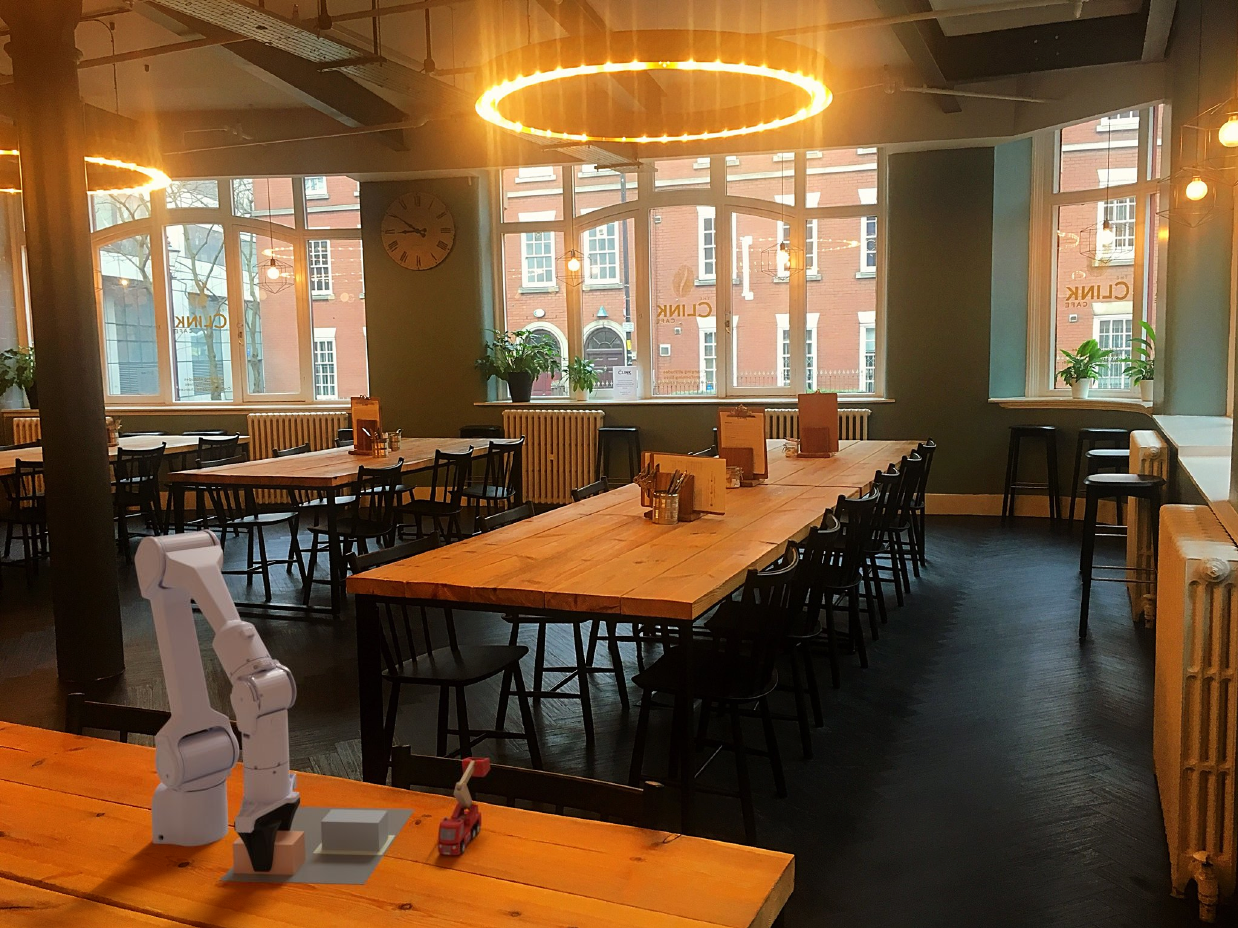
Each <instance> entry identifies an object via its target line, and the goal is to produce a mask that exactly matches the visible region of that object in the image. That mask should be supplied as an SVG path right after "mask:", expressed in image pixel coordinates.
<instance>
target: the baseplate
mask: <svg viewBox="0 0 1238 928" xmlns="http://www.w3.org/2000/svg"><path fill="white" fill-rule="evenodd" d="M332 809H341V810H384V811H388V840H387V841H386V843H385V844H384V845H383V847H382V848H381V850H380V851H341V850H322V837H321V821H322V820H323V819H324V817H325V816H326V815H327V814H328V813H329V812H330V811H331V810H332ZM413 812H415V808H414V809H413V808H376V807H375V808H372V807H328V806H327V807H324V806H321V807H320V806H315V807H314V806H298V808H297V810H296V813H295V815H294V818H293V821H292V825H291V829H290V831H305V859H306V860H305V862H304V863H303V864H302V865H301V867H300V868H299V869H298V870H297V871H296V873H295V874H294V875H282V874H244V873H234V865H232V867H231V868H229V870H228V871H227V872H226V873H225V874H224V875H223V876H221V878H220V879H219V882H248V883H249V882H250V883H251V882H252V883H255V882H256V883H287V884H324V885H357V886H358V885H360V886H363V885H364V886H365V884H366V883H367V881H368V879H369V878H370V876H371V875H372V874H373V872H374V871H375V869H376V868H377V866H378V865H379V863H380V862H381V860H382V858H383V857H385V854H386V852H388V849H390V847H391V845H392V844H393V842H394V841H395V840H396V838H397V837H398V835H399V834H400V832H401V831H402V829H403V828H404V826H405V825H406V823H407V822H408V820H409V819H410V817H411V816H412V814H413Z"/></svg>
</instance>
